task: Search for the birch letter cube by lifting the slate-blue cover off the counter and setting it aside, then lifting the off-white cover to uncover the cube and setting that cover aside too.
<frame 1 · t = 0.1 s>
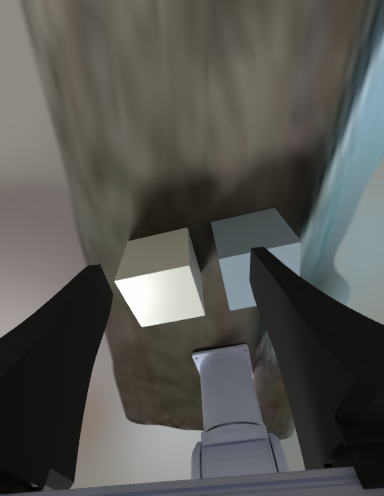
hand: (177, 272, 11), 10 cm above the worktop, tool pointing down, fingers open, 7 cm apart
cover a: (245, 241, 22), on the worktop
cover b: (166, 258, 23), on the worktop
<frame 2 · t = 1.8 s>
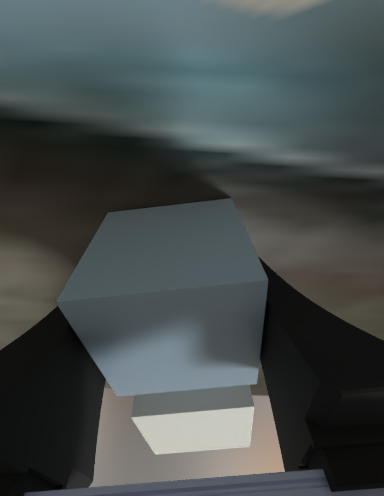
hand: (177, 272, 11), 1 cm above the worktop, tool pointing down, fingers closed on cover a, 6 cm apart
cover a: (178, 255, 12), on the worktop, touching gripper
cover b: (193, 341, 17), on the worktop
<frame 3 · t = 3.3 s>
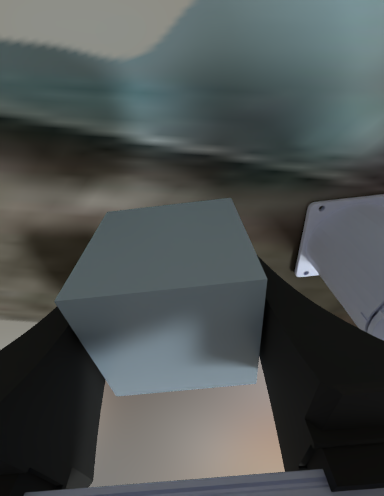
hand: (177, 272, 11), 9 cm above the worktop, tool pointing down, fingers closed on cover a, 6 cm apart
cover a: (177, 254, 12), point 7 cm above the worktop, touching gripper
when the fingers open (3 cm above the worktop, at t = 5.2 s): cover a drops 1 cm, on the worktop.
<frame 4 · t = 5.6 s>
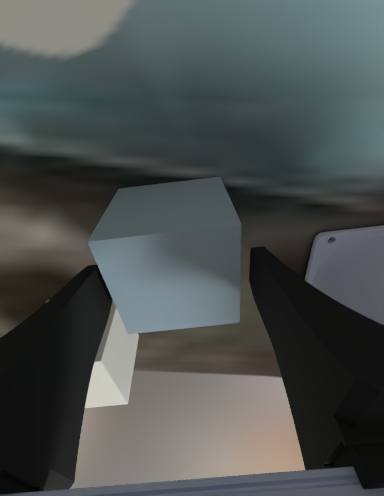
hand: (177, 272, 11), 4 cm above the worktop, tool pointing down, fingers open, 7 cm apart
cover a: (176, 226, 15), on the worktop
cover b: (96, 319, 20), on the worktop
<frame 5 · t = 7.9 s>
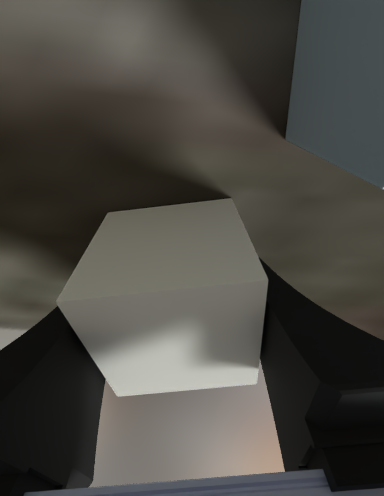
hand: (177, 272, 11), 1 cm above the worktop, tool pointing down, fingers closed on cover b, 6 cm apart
cover b: (178, 255, 12), on the worktop, touching gripper
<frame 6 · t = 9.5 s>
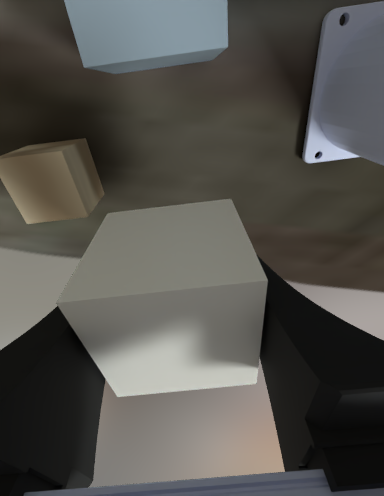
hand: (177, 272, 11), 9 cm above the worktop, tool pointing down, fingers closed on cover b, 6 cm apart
letter cube: (56, 179, 15), on the worktop
cover b: (177, 255, 12), point 7 cm above the worktop, touching gripper
when the fingers open (3 cm above the worktop, at t = 11.3 s): cover b drops 1 cm, on the worktop.
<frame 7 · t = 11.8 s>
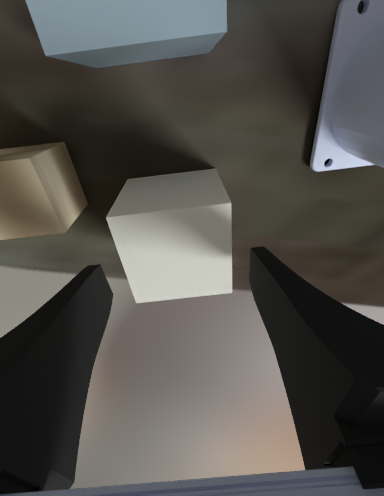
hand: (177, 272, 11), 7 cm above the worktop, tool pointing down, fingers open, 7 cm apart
letter cube: (30, 189, 13), on the worktop
cover b: (177, 213, 17), on the worktop
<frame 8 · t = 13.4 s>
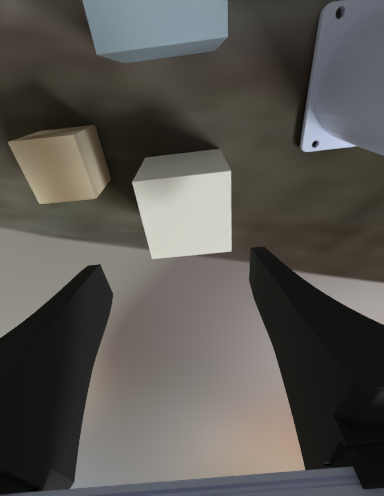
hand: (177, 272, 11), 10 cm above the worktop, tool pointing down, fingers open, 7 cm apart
letter cube: (67, 163, 16), on the worktop
cover b: (186, 188, 20), on the worktop
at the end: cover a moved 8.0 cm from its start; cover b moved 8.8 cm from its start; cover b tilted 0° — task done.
